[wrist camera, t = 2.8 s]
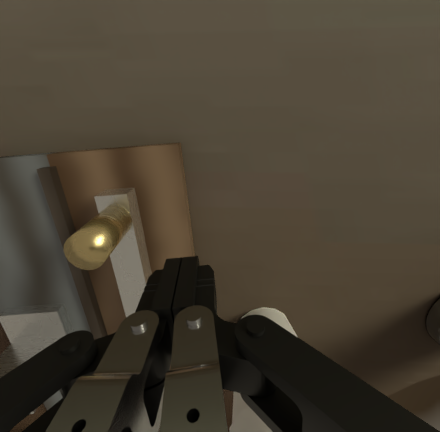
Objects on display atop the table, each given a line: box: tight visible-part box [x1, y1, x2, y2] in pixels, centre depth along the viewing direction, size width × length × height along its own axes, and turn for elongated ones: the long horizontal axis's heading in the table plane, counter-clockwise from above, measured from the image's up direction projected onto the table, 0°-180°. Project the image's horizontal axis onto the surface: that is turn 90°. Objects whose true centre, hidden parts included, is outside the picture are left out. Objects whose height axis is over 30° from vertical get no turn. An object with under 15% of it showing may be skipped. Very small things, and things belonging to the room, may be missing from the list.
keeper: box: [0, 304, 74, 414], centre depth 24 cm, size 6×7×6 cm
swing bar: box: [64, 187, 152, 317], centre depth 20 cm, size 16×4×7 cm, turn 4°
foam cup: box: [229, 307, 297, 432], centre depth 24 cm, size 10×9×13 cm
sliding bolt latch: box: [0, 143, 195, 410], centre depth 27 cm, size 21×34×3 cm, turn 4°
